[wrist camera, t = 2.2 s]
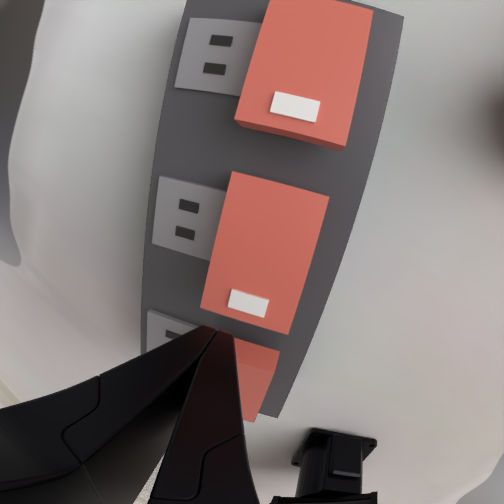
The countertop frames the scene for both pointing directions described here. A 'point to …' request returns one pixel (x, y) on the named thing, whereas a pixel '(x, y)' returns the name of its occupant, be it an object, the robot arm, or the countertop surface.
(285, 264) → the plate
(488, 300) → the countertop surface
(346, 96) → the rocker
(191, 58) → the power strip
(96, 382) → the robot arm
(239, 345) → the red rectangular block
